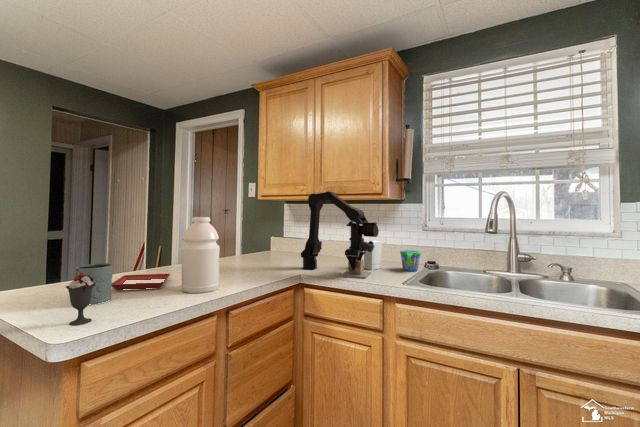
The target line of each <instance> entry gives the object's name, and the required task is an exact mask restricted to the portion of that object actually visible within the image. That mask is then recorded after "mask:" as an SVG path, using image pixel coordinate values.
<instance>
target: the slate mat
mask: <svg viewBox="0 0 640 427" xmlns="http://www.w3.org/2000/svg"><path fill="white" fill-rule="evenodd" d="M371 274H372V271H364V273H363V274H361V275H352V274H348V269H347V270H346V271H344V272H342V273H341V274H340V275H339V276H340V277H341V278H342V277H343V278H353V279H364V280H365V279H368V278H369V276H370V275H371Z"/></svg>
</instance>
